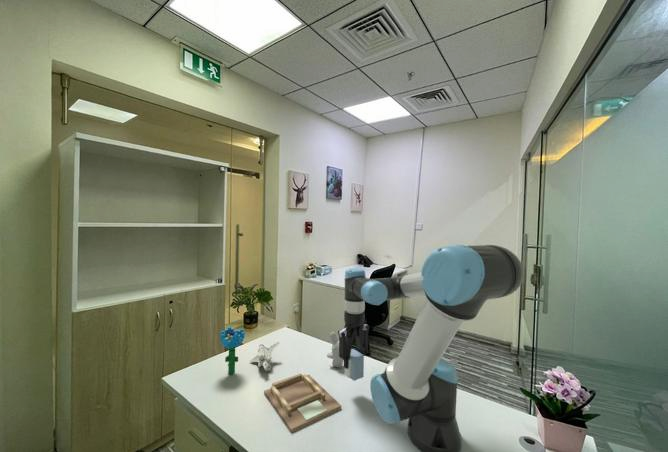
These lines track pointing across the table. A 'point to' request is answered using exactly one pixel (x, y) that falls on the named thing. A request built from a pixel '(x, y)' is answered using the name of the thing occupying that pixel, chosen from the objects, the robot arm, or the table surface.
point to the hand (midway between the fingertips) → (353, 374)
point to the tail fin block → (356, 365)
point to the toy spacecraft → (264, 356)
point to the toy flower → (231, 345)
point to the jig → (300, 401)
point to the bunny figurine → (335, 352)
